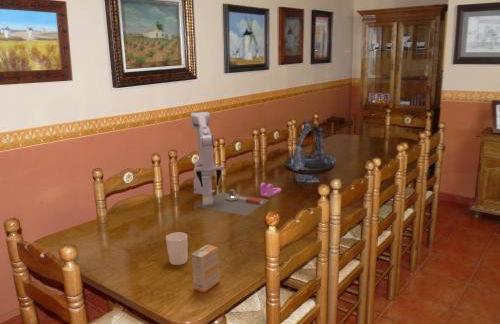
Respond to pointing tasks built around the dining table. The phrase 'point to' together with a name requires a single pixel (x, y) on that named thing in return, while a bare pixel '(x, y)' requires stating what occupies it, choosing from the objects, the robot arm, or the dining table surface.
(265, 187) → the bracket
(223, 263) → the dining table surface
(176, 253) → the white cup
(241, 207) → the mat
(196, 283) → the supplement box
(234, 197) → the ratchet
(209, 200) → the pale pink cube
